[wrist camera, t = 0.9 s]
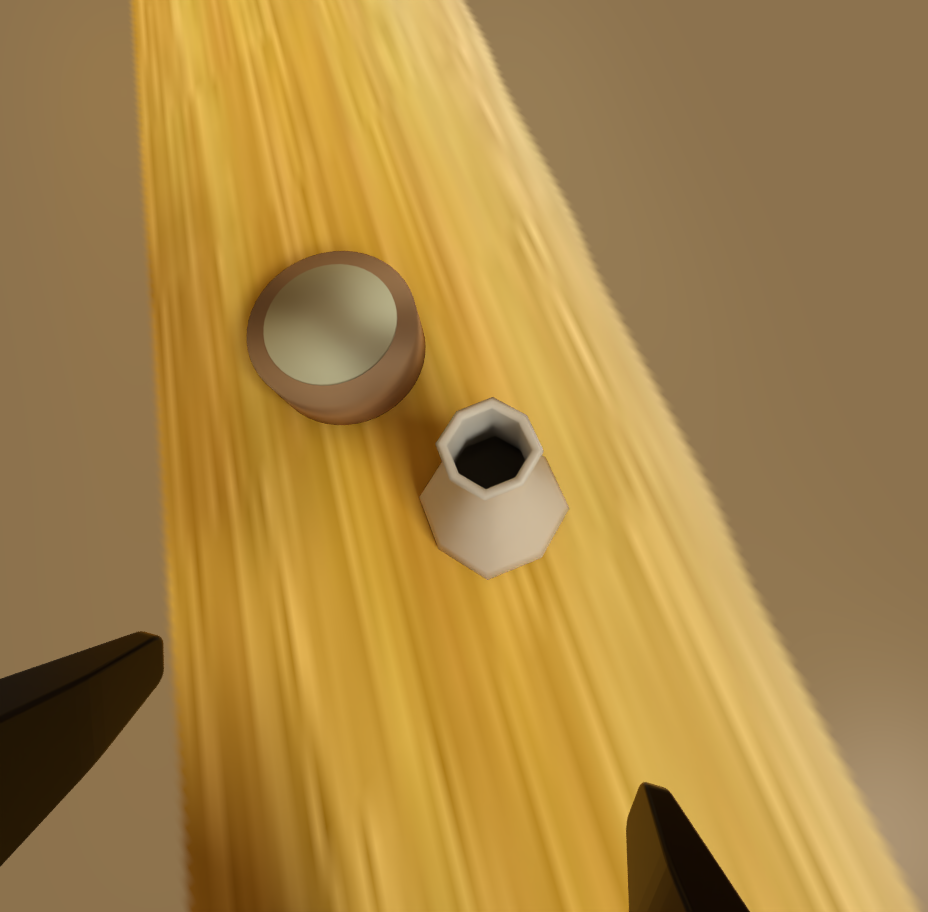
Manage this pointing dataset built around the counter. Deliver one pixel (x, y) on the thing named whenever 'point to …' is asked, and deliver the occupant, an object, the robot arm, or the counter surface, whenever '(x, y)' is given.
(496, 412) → the flask
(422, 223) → the counter surface
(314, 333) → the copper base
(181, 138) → the counter surface
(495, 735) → the counter surface
